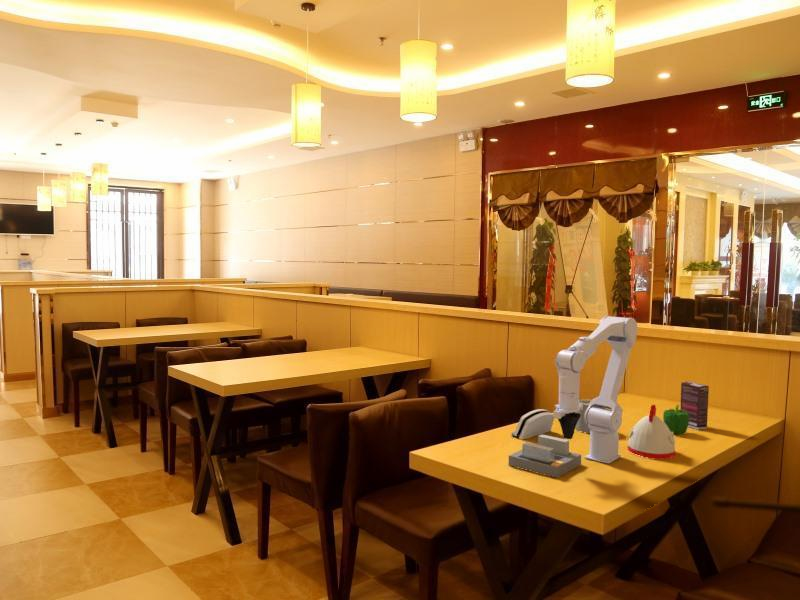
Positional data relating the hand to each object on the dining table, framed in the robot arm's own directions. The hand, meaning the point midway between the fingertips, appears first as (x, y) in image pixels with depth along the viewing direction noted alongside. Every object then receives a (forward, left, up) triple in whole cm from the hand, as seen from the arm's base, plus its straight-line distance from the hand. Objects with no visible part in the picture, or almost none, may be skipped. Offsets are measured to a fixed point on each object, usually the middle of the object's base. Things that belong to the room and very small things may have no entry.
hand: (568, 438), depth 179 cm
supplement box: (-75, +13, -10) cm, 76 cm away
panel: (+6, -6, -9) cm, 13 cm away
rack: (+1, -7, -9) cm, 11 cm away
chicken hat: (-34, +12, -10) cm, 37 cm away
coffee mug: (-45, -15, -10) cm, 48 cm away
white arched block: (-25, -25, -10) cm, 37 cm away
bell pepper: (-62, +11, -10) cm, 63 cm away
